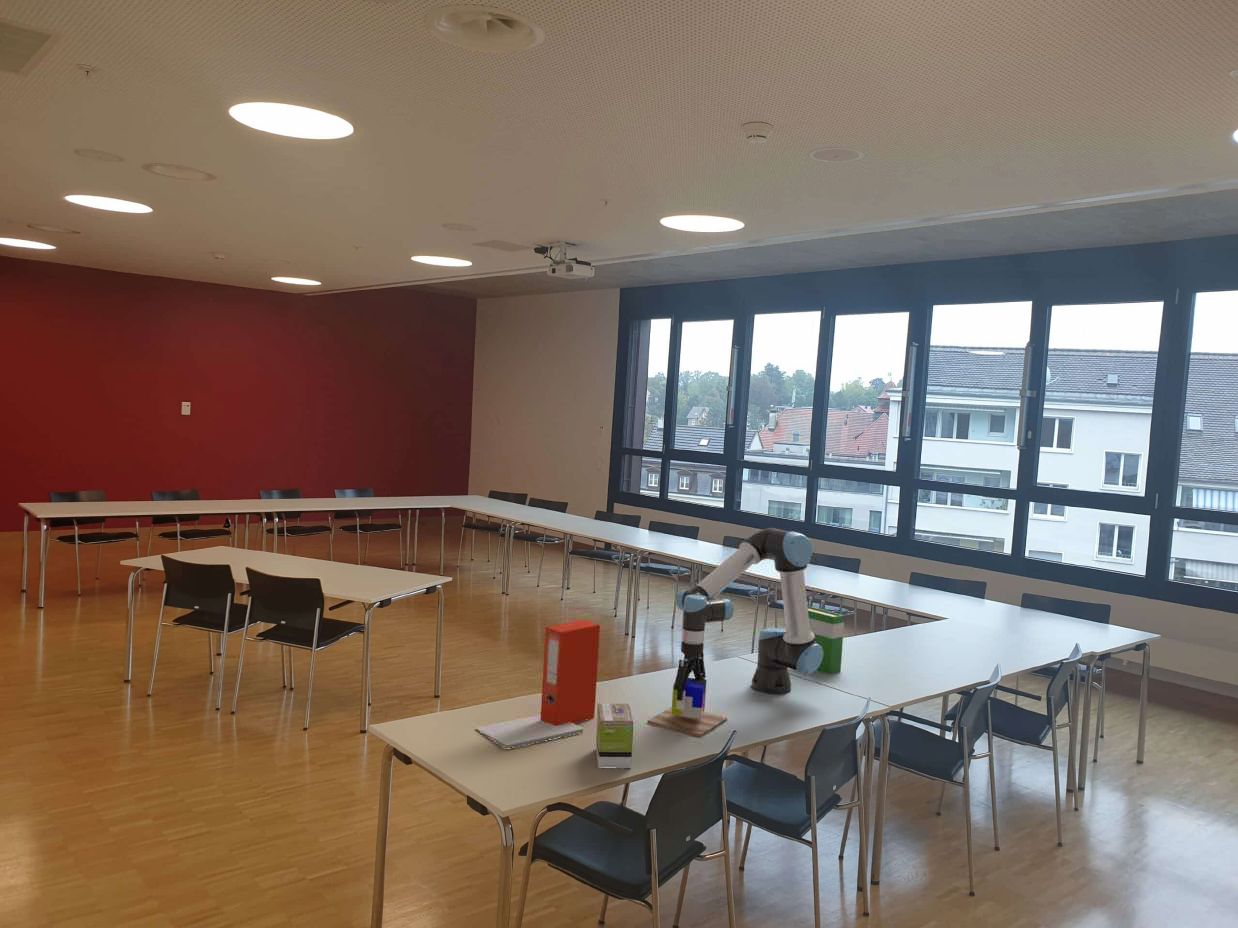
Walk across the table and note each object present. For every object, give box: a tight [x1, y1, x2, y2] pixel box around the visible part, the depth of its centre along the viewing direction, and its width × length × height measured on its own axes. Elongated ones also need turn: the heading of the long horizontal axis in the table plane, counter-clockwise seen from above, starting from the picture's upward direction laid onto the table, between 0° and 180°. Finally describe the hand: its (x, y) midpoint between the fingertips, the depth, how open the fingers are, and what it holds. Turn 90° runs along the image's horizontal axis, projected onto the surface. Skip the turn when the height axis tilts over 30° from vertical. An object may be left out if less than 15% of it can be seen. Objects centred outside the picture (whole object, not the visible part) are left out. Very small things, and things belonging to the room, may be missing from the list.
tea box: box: [595, 702, 634, 769], centre depth 262 cm, size 15×10×15 cm, turn 5°
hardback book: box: [808, 606, 845, 675], centre depth 371 cm, size 18×7×24 cm, turn 40°
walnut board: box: [647, 706, 728, 738], centre depth 298 cm, size 20×20×1 cm
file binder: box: [540, 619, 601, 726], centre depth 292 cm, size 8×17×32 cm, turn 136°
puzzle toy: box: [671, 677, 707, 718], centre depth 297 cm, size 10×10×10 cm
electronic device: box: [475, 714, 584, 749], centre depth 281 cm, size 29×20×2 cm
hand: (688, 704), depth 297 cm, fingers closed on puzzle toy, 12 cm apart
